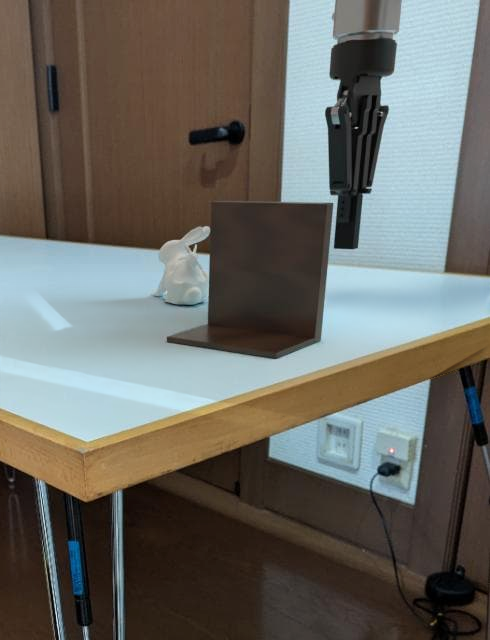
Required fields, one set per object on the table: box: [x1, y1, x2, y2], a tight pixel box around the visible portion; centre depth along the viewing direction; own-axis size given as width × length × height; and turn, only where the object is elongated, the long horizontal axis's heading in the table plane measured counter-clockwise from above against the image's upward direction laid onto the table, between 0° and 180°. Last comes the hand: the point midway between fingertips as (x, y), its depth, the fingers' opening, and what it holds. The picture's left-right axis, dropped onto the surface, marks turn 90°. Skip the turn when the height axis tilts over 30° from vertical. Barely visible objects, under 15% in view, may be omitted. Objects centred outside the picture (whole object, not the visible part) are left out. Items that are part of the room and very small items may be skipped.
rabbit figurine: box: [150, 225, 211, 306], centre depth 110 cm, size 12×8×10 cm, turn 12°
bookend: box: [166, 200, 334, 359], centre depth 86 cm, size 14×10×14 cm
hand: (345, 248), depth 106 cm, fingers closed
